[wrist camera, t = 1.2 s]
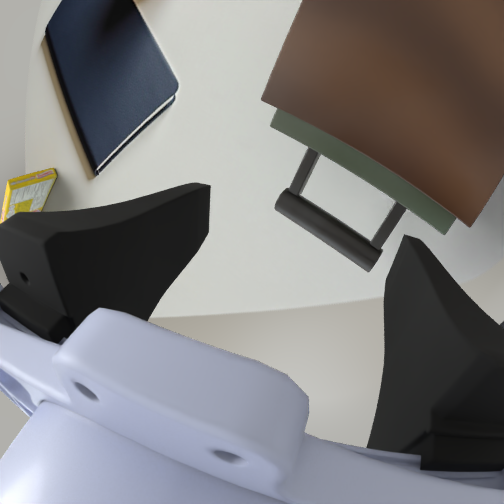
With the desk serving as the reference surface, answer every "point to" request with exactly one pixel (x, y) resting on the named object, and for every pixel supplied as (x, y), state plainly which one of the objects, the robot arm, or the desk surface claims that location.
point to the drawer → (363, 167)
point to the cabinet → (404, 89)
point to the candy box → (27, 193)
